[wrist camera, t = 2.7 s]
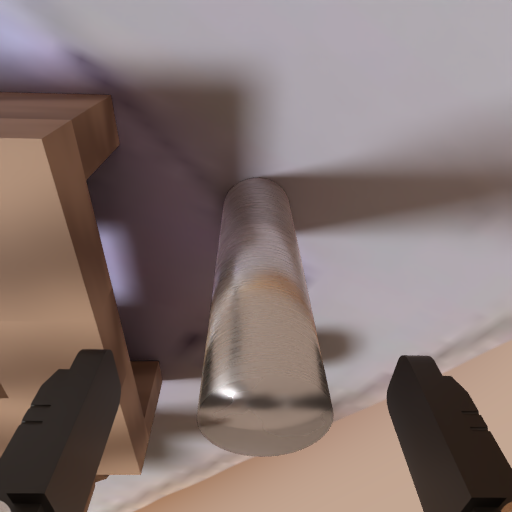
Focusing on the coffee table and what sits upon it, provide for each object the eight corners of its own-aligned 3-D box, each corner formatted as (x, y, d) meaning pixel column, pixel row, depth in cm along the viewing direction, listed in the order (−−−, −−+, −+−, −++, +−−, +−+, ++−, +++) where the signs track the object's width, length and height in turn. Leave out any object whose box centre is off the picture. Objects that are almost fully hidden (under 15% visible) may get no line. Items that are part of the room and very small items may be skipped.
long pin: (222, 176, 17) (192, 377, 8) (292, 178, 17) (343, 376, 8) (224, 237, 19) (200, 456, 10) (287, 237, 19) (323, 456, 10)
